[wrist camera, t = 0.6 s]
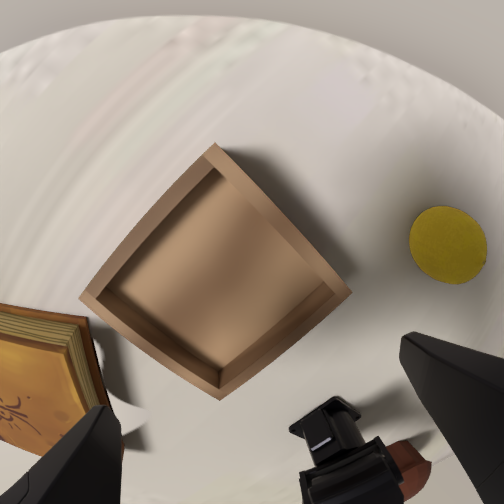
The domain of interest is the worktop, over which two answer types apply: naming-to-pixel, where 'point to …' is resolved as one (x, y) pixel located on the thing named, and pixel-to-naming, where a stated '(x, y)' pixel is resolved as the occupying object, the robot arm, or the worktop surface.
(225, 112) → the worktop surface
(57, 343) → the diary
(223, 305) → the walnut box
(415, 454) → the muffin
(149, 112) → the worktop surface
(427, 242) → the lemon
